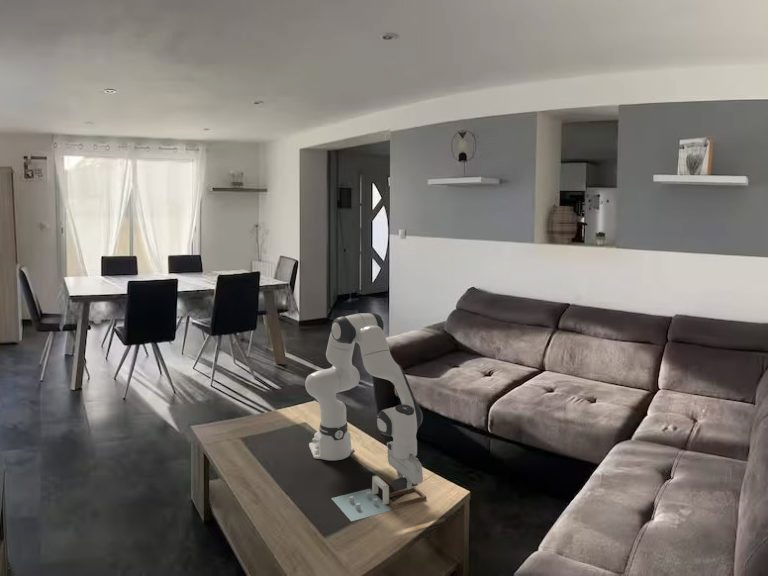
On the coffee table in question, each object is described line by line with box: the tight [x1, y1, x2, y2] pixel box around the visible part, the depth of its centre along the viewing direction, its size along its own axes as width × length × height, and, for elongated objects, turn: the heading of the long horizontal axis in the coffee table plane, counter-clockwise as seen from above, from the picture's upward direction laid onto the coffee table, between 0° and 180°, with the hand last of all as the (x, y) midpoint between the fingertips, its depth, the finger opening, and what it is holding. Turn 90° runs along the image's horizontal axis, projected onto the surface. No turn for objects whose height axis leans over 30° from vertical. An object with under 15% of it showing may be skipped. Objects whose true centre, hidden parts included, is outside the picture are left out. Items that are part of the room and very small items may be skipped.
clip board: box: [331, 488, 393, 522], centre depth 216 cm, size 18×16×3 cm
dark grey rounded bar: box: [391, 476, 419, 492], centre depth 219 cm, size 4×9×4 cm, turn 118°
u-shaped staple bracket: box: [371, 474, 390, 505], centre depth 219 cm, size 10×2×7 cm, turn 28°
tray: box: [388, 486, 427, 509], centre depth 220 cm, size 9×14×2 cm, turn 118°
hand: (404, 485), depth 219 cm, fingers closed on dark grey rounded bar, 4 cm apart
